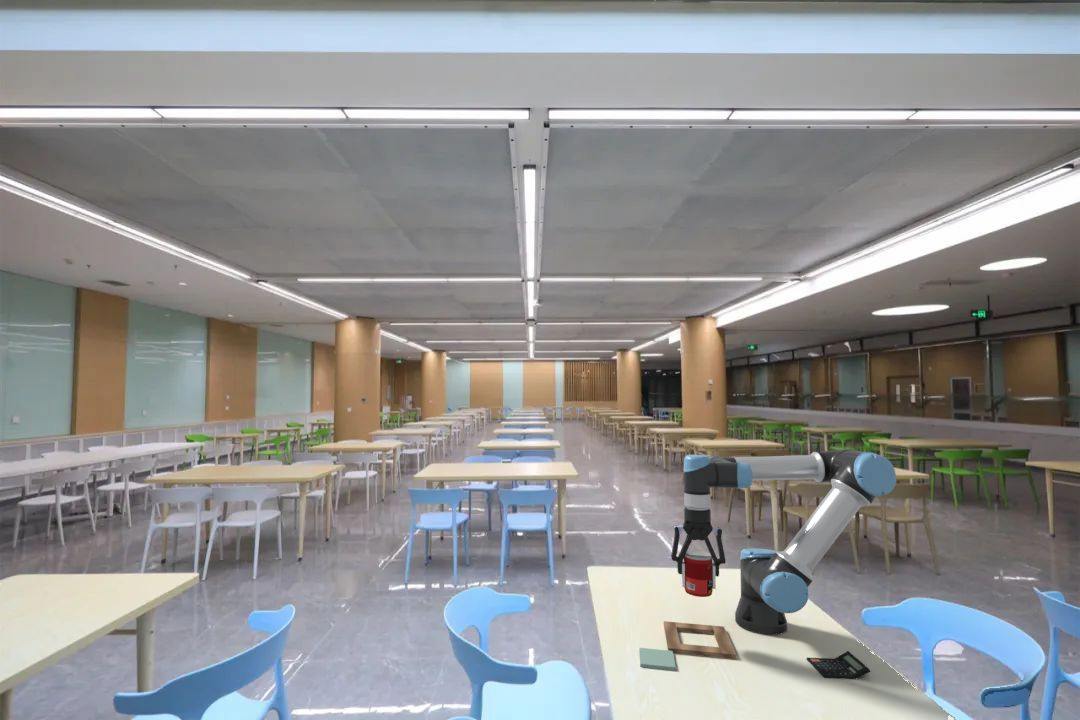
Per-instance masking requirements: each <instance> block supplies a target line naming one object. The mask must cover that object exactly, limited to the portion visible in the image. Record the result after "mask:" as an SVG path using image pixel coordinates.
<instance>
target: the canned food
mask: <svg viewBox="0 0 1080 720" xmlns="http://www.w3.org/2000/svg"><path fill="white" fill-rule="evenodd" d="M683 561H684V563H685V587H683V588H684V591H685V593H686V594H687V595H690V596H693V597H697V598H709V597H710V596H712V595H713V590H714V589H713V583H712V563H713V559H712V556H711V554H710V552H706V551H701V550H687V552H686V555H685V557H684V559H683Z"/></svg>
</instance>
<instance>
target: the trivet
mask: <svg viewBox="0 0 1080 720" xmlns="http://www.w3.org/2000/svg"><path fill="white" fill-rule="evenodd" d="M638 649H639V650H638V652H639V665H640V668H648V669H659V670H667V671H676V670H677V668H676V663H675V657H674V653H673V651H669V650H668V649H667V650H666V649H657V648H645V647H638Z"/></svg>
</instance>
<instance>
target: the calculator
mask: <svg viewBox="0 0 1080 720" xmlns="http://www.w3.org/2000/svg"><path fill="white" fill-rule="evenodd" d="M806 661H807V662H808V663H809V664H810V665H811V666H812V667H813V668H814V669H815V670H816V671H817V672H818V673H819V674H820V675H821V676H822V677H823V678H824V679H840V680H841V679H842V680H845V679H846V680H857V679H859V678H861V677H864V676H866V675H867V674H869V673H871V670H870V668H868V667H867V666H866V665H865V663H863V662H862V661H860V660H859V659H858V658H857V657H856V656H855V655H854V654H852V653H851V652H850V651H849V650H846V651H845V652H844V653H842V654H839V655H838V656H836V657H834V658H832V657H829V658H828V657H826V658H824V657H806ZM856 678H857V679H856Z"/></svg>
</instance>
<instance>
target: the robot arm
mask: <svg viewBox="0 0 1080 720" xmlns="http://www.w3.org/2000/svg"><path fill="white" fill-rule="evenodd" d="M784 480H785V481H787V480H789V481H790V480H797V481H798V480H814V481H815V482H816V483H829V484H830V483H831V489H830V490H829V491H828V492H827V494H826V495H825V496H824V498H823V499H822V500H821V502H820V503H819V504H818V505H817V507H816V509H814V511H813V512H812V514H811V515H810V516H809V518H807V520H806V521H805V523H804V524H803V525H802V527H801V528H800V529H799V531H798V532H797V533H796V534H795V536H794V538H793V539H792V540H791V541H790V542H789V544H787V546H786V548H785V549H784V550H783V551H777V550H773V549H767V548H755V547H754V548H750V547H749V548H743V549H742V550H741V551H740V558H739V563H740V566H739V567H740V597H739V601H738V604H737V605H736V609H735V611H734V613H735V614H734V617H735V618H734V620H735V623H736V624H737V625H738V626H739V627H741V628H743V629H744V630H746V631H747V630H748V631H750V632H752V633H756V634H762V635H767V636H768V635H773V636H776V635H778V636H779V635H782V634H784V633H786V632H788V622H787V621H788V620H787V618H786V615H785V614H794V613H797V612H798V611H800V610H802V609H803V608H804V607H805V606H806V605H807V603H808V600H809V596H810V595H809V588H808V587H809V586H810V585H811V584H812V582H813V575H812V573H813V571H814V569H815V568H816V566H817V565H818V564H819V563H820V561H821V560H822V559H823V558H824V556H825V555H826V553H827V552H828V551H829V549H830V548H831V547H832V545H834V543H835V542H836V540H837V539H838V537H839V536H840V535H841V534H842V532H843V531H844V530H845V528H846V527H847V525H848V524H850V522H851V520H852V519H853V518H854V516H855V515H856V513H858V511H859V510H860V508H861V507H868V506H871V504H872V503H873V502H874V501H875V499H876V498H877V497H881V496H882V497H883V496H885V495H888V494H890V493H891V492H892V491H893V490H894V488H895V487H896V482H897V474H896V469H895V467H894V466H893V464H892V462H891V461H890V460H889V459H887V458H886V457H884V456H883V455H880V454H878V453H874V452H871V451H861V450H855V449H847V448H845V449H834V450H825V451H824V450H823V451H812V453H810V454H808V455H807V454H806V455H805V454H804V455H802V454H801V455H774V456H765V455H764V456H738V457H737V456H733V457H719V456H710V457H709V455H705V454H687V455H685V456H684V459H683V484H684V485H683V487H684V490H683V491H684V492H683V494H684V495H683V497H684V499H683V500H684V501H683V502H684V503H683V504H684V506H685V507H684V510H683V512H684V513H683V514H684V515H683V517H684V522H683V524H682V525H676V524H675V525H674V526H673V530H674V536H673V543H672V547H671V549H672V550H671V555H670V557H671V560H672V561H674V562H676V563H677V573H678V575H681V576H680V577H681V578H680V579H681V581H680V582H681V583H680V584H681V587H682V588H684V587H685V563H684V557H685V555H686V552H687V551H689V547H690V545H691V544H692V542H693V541H698V540H699V541H704V543H705V545H706V548H707V550H708V553H709V554H711V556H712V583H713V590H716V589H717V588H716V587H717V586H716V582H717V581H716V580H717V579H716V578H717V577H719V576H720V566H721V565H723V564H724V565H725V564H726V556H725V551H724V545H723V540H722V534H723V530H722V529H721V527H719V526H718V527H716V526H715V527H714V526H713V525H712V522H711V521H712V518H711V517H712V515H711V514H712V513H711V509H710V508H711V488H713V489H715V488H721V489H723V488H724V489H738V490H740V489H749V488H750V487H751V486H752V485H753V481H784ZM683 531H684V532H685V534H686V536H685V540H684V542H683V544H682V547H681V549H680V551H679V554H678V549H679V545H680V544H679V543H680V537H681V536H680V535H681V534H682V532H683ZM712 532H713V535H714V536H715V540H716V545H717V550H718V557H719V558H718V557H717V555H716V553H715V550H714V548H713V546H712V543H711V541H710V539H709V536H710V534H711V533H712Z"/></svg>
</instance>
